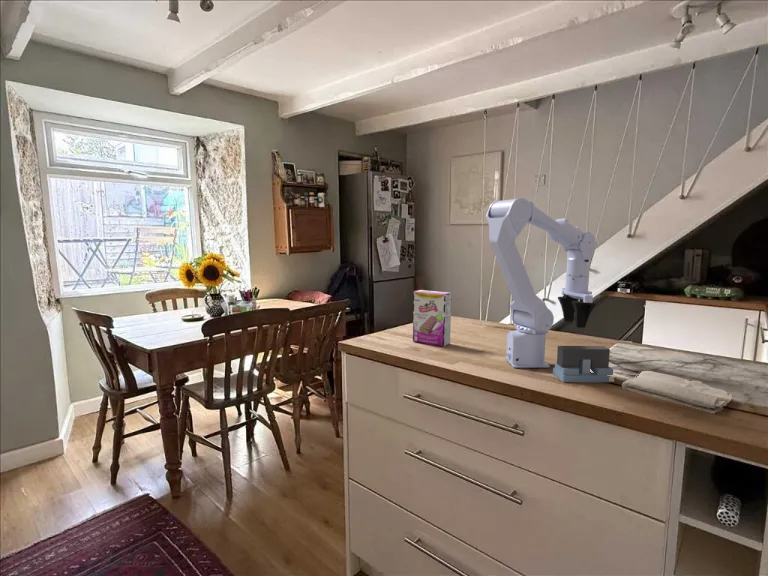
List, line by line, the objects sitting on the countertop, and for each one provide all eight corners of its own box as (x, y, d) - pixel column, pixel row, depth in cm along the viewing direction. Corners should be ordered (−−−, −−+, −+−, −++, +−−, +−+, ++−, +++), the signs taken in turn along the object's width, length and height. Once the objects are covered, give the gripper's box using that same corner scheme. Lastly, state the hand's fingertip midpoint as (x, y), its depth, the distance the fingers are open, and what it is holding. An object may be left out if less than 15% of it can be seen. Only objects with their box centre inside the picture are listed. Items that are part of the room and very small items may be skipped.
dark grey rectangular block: (561, 367, 99) (562, 349, 98) (556, 363, 102) (557, 345, 101) (608, 367, 99) (609, 349, 98) (602, 363, 102) (603, 345, 101)
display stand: (562, 382, 98) (564, 361, 97) (552, 373, 104) (553, 353, 103) (614, 382, 98) (616, 361, 97) (601, 373, 104) (602, 354, 103)
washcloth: (718, 418, 80) (720, 403, 80) (619, 391, 94) (620, 377, 94) (734, 402, 88) (736, 388, 87) (640, 379, 101) (641, 367, 101)
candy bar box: (412, 342, 134) (412, 291, 132) (419, 338, 138) (420, 289, 136) (444, 347, 128) (445, 294, 126) (450, 343, 132) (452, 292, 130)
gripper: (605, 278, 108) (602, 330, 109) (579, 273, 122) (577, 319, 124) (578, 278, 108) (575, 330, 109) (555, 273, 122) (553, 318, 124)
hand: (574, 324), depth 117 cm, fingers open, 7 cm apart
